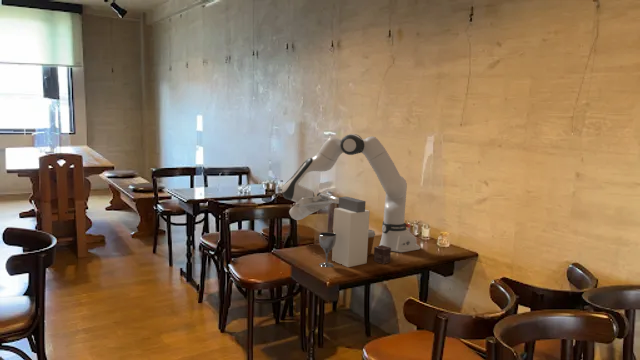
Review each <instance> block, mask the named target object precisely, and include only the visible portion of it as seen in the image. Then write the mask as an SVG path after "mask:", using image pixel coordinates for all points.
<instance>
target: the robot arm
mask: <svg viewBox="0 0 640 360" xmlns="http://www.w3.org/2000/svg"><path fill="white" fill-rule="evenodd" d="M342 154H346V155H349V156H353V155H356V154H357V155H358V154H363V155H364V157H365V158H366V160H367V161H368V163H369V164H370V166H371V169H372V171H374V173H375V175H376V177H377V179H378V181H379V182H380V185H381V186H382V188H383V190H384V192H385V198H384V209H383V210H384V211H383V221H382V225H381V226H382V227H381V231H382V233H381V237H380V238H381V239H380V242H379V245H378V246H380V245H383V246H386V247H390V248H391V252H397V253H406V252H411V251H416V250H420V249H421V246H420V245H419V244H417V239H416V236H415V235H414V234H412V233H411V231H409V230H408V229H410V228H411V224H410V223H406V222H405V217H406V216H405V215H406V204H407V203H406V201H407V189H408V183H407V180H406V178H405V177H403V176H401V174H400V173H399V171H398V168H397V167H396V164H395V162H394V161H393V160H392V158H391V156H390V155H389V153H388V152H387V150H386V147H384V145H383V144H382V143H381V141H380V140H379V139H378V138H377V137H376V136H373V135H372V136H368V137H366V138H362V137H361V136H360V135H359V134H357V133H349V134H347V135H345V136H344V137H342V139H340V138H338V137H336V136H330V137H328V138H327V139H326V140H325V142H324V143H323V144H322V145H321V147H320V149H319V150H318V151H317V153H316V154H315V155H313V156H312V157H309V158H307V159H306V160H304V162H303V163H302V164H301V165H300V167H298V168H297V170H296V171H295V172H294V174H293V175H292V176H291V178H289V179H288V180H287V181H286V182H285V183H284V185H283V186H282V188H281V194H282V196H283V198H284V199H285V200H289V201H292V202H295V204H294V205H292V207H291V208H290V209H289V211H288V213H289V215H290V218H291V219H294V220H296V221H299V220H303V219H304V218H307V217H308V216H309V215H312V214H314V213H316V212H319V211H322V210H324V209H326V207H328V206H330V205H331V204H332V202H329V201H325V200H322V195H318V196H317V195H316V196H315V192H314V191H313V189H310V188H308V187H305V186H303V185H301V184H299V183H300V182H301V181H302V180H303V178H304V177H305V176H306V175H307V174H308V173H310V172H322V173H323V172H328V171H329V170H332V168H333V167H334V166H335V164H336V163H337V160H338V159H339V157H340V156H341V155H342ZM326 194H327V195H329V194H328V193H326ZM330 195H331V196H333V195H332V194H330ZM407 228H408V229H407Z"/></svg>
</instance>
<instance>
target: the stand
mask: <svg viewBox="0 0 640 360" xmlns="http://www.w3.org/2000/svg"><path fill="white" fill-rule="evenodd" d="M338 197H339V204H338V207H336V208H334V209H333V230H332V231H333V232H332V233H335V234H336V242H335V245H334V247H333V248H332V249H331V251H332V252H331V255H332V256H331V261H333V262H334V261H335V262H334V263H337V264H339V265H341V264H342V265H341V266H344V267H346V268H350V267H356V266H360V265H364V264H367V260H368V255H367V248H368V231H369V230H370V229H369V228H370V210H368V209H366V202H367V201H366V200H361V199H359V198H355V197H350V196H342V197H341V196H338Z"/></svg>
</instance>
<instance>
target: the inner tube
mask: <svg viewBox="0 0 640 360" xmlns="http://www.w3.org/2000/svg"><path fill="white" fill-rule="evenodd" d="M327 194H328V193H322V192H317V194H316V196H318V195H322V200H325V201H329V202H332V203H333V204H337V205H339V197H340V196H335V195H332V194H328V195H327ZM331 195H332V196H331ZM332 203H331V204H332Z"/></svg>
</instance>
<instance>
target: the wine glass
mask: <svg viewBox="0 0 640 360" xmlns="http://www.w3.org/2000/svg"><path fill="white" fill-rule="evenodd" d="M318 237H319V245H320V247H321V248H322V249H323V251H324V253H325V262H320V263H319V264H318V265H319V266H320V267H323V268H333V267H334V266H335V264H334V263H331V262H328V260H329V259H328V257H329V253H330V251H332V248H333V247H334V245H335V242H336V234H335V233H333V232H330V231H325V232H324V231H323V232H319V235H318ZM333 264H334V265H333Z"/></svg>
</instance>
